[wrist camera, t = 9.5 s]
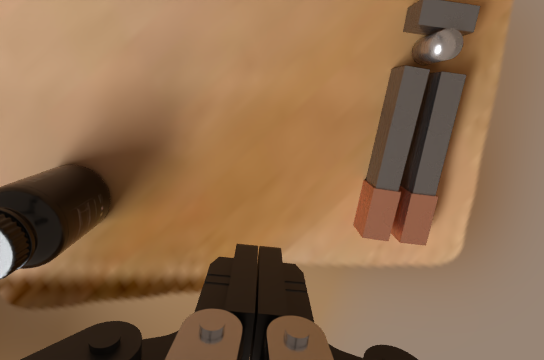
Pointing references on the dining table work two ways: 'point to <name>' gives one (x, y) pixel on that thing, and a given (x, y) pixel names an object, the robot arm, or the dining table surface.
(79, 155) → the dining table surface
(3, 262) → the supplement bottle
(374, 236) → the tong arm
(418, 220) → the tongs fixed
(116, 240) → the dining table surface
